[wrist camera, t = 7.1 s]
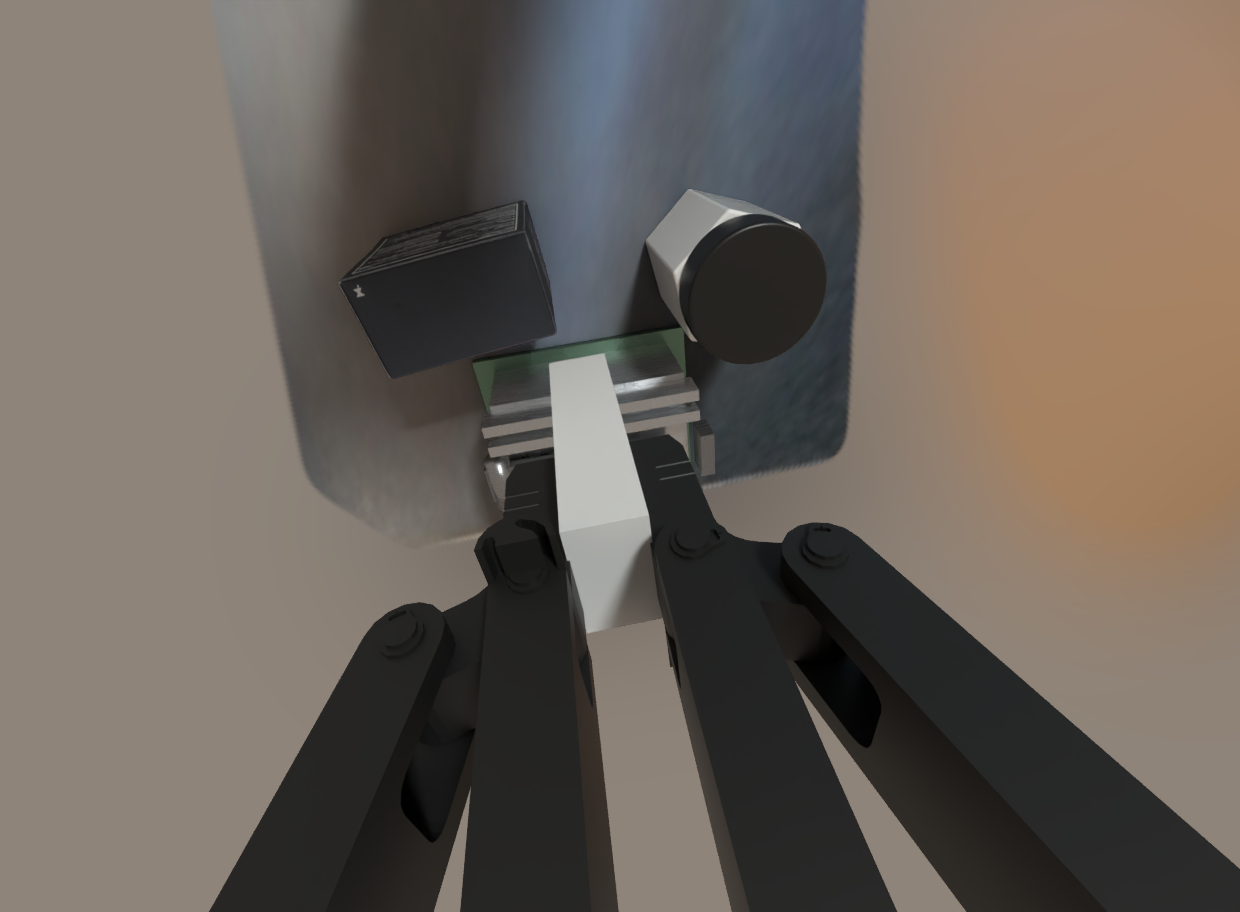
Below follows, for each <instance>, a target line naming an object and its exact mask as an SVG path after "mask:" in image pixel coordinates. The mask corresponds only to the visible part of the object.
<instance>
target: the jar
mask: <svg viewBox="0 0 1240 912" xmlns="http://www.w3.org/2000/svg"><path fill="white" fill-rule="evenodd" d="M646 246H647V249H648V253H649V256H650V260H651V263H652V267H653V271H654V274H655V278H656V281H657V285H658V288H659V292H660V295H661V298H662V299H663V301H664V302H665V304H666V305H667V307H668V308H669V310H670V311H671V312H672V314H673V315H674V317H675V318H676V320H677V321H678V323H679V324H680V325H681V327H682V328H683V330H684V331H685V333H686V334H687V336H688V337H689V339H690V340H691V341H695V342H698V343H700V344H701V345H702V347H704V348H705V349H706V350H707V351H708V352H710V353H711V354H712V355H714V356H716V357H717V358H719V359H722V360H724V361H727V362H730V363H735V364H754V363H760V362H763V361H767V360H770V359H772V358H774V357H777V356H779V355H780V354H782V353H784V352H786V351H787V350H788V349H790V348H791V347H792V346H794V345H795V344H796V343H797V342H798V341H799V340H800V339H801V338H802V337H803V336H804V335H805V334H806V333H807V332H808V330H809V329H810V328H811V326H812V325H813V323H814V322H815V320H816V318H817V316H818V314H819V312H820V310H821V307H822V304H823V301H824V298H825V293H826V285H827V273H826V266H825V261H824V258H823V255H822V253H821V251H820V249H819V247H818V246H817V244H816V243H815V242H814V240H813V239H812V238H811V237H810V236H809V235H808V234H807V233H806V232H804V231H803V230H801V227H800V225H799V224H798V223H795V222H793V221H791V220H788V219H786V218H783V217H781V216H779V215H776V214H774V213H772V212H769V211H767V210H765V209H762V208H760V207H758V206H755V205H753V204H751V203H748V202H746V201H741V200H737V199H733V198H728V197H724V196H719V195H715V194H710V193H706V192H701V191H697V190H692V189H689V190H687V191H686V192H685V194H684V195H683V196H682V197H681V198H680V200H679V201H678V202H677V203H676V204H675V206H674V207H673V208H672V209H671V210H670V212H669V213H668V214H667V215H666V216H665V218H664V219H663V220H662V221H661V222H660V224H659V225H658V226H657V227H656V228H655V230H654V231H653V232H652V233H651V234H650V236H649V237H648V238H647V239H646Z"/></svg>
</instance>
